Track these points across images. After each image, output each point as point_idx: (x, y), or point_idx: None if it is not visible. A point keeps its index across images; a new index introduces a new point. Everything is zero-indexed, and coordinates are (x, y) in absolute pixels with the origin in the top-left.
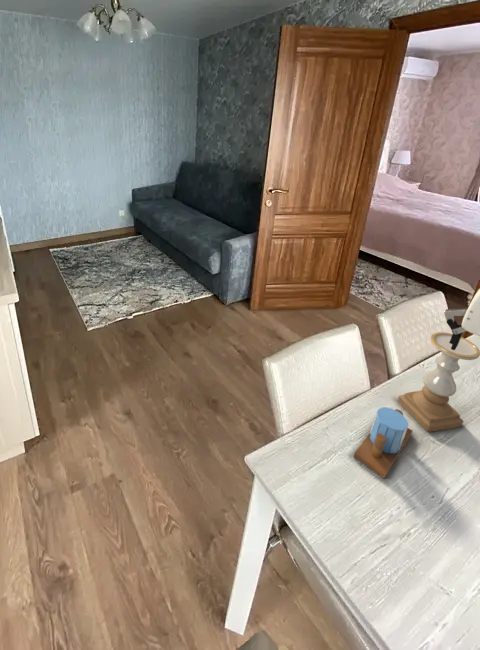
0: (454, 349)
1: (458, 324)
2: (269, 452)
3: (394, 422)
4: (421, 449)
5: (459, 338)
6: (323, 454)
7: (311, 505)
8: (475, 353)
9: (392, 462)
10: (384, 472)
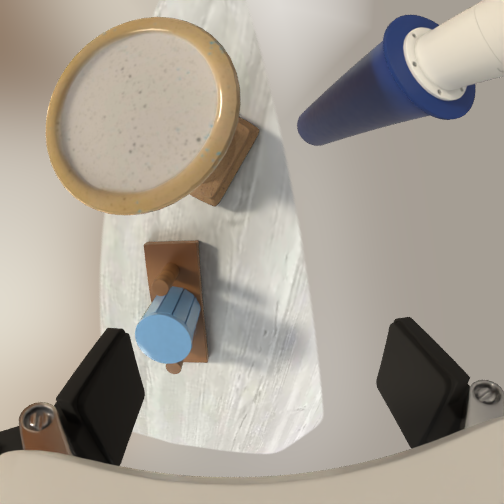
0: (142, 398)
1: (24, 442)
2: None
3: (170, 348)
4: (224, 259)
5: (116, 437)
6: None
7: (177, 428)
8: (221, 108)
9: (204, 337)
10: (205, 360)
